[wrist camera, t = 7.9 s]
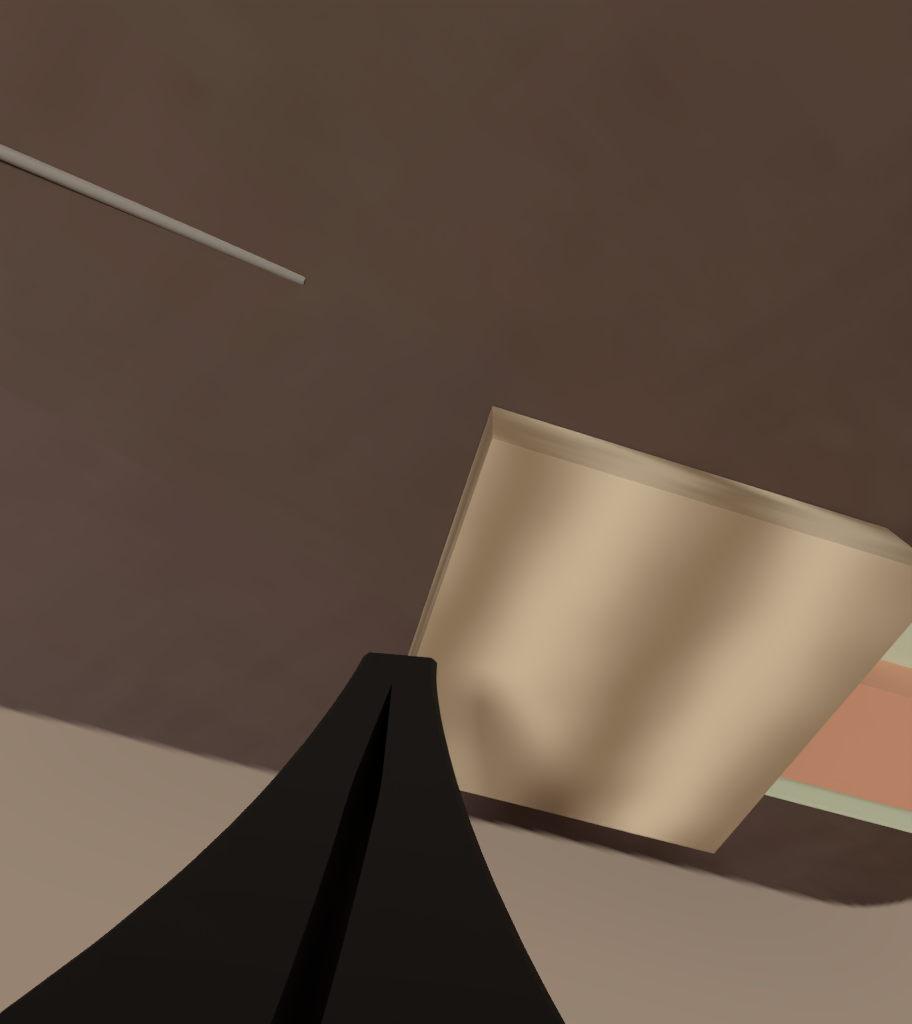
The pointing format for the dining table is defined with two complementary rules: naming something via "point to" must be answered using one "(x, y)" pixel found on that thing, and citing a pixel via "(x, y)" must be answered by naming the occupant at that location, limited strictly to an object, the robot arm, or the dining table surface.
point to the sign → (140, 211)
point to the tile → (865, 742)
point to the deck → (645, 631)
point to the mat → (903, 652)
